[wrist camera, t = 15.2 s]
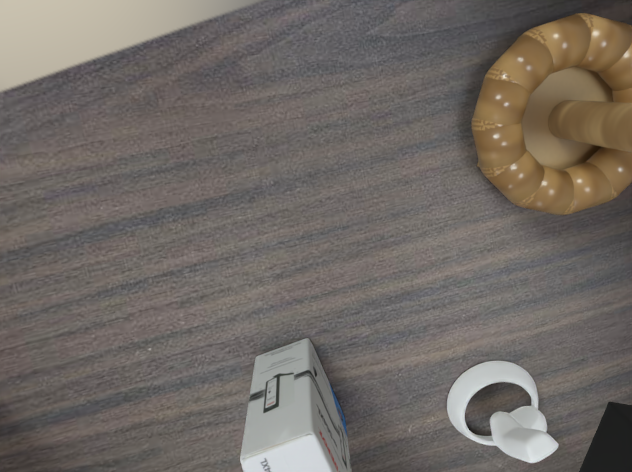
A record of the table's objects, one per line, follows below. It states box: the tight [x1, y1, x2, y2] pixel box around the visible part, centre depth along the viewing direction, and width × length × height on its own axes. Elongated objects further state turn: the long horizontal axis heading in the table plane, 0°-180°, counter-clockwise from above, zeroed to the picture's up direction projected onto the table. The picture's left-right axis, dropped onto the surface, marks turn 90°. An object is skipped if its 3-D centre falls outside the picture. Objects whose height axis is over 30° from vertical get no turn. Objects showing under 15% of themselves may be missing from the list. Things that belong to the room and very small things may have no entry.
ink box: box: [240, 338, 352, 472], centre depth 35 cm, size 9×5×12 cm, turn 21°
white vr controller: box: [447, 361, 559, 463], centre depth 38 cm, size 8×12×7 cm
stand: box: [477, 37, 632, 170], centre depth 29 cm, size 9×9×14 cm
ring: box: [471, 13, 632, 215], centre depth 32 cm, size 12×12×3 cm
